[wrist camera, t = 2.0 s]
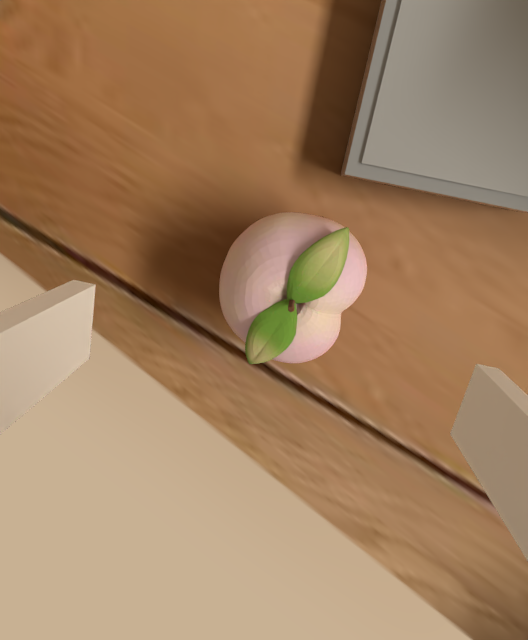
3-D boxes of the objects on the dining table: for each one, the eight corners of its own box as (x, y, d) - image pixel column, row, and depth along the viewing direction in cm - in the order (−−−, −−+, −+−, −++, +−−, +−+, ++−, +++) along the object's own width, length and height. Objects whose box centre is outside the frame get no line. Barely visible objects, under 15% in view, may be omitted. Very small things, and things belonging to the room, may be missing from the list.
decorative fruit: (263, 183, 30) (247, 183, 21) (371, 234, 31) (404, 256, 21) (212, 304, 33) (177, 352, 24) (312, 349, 34) (317, 414, 24)
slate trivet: (517, 211, 30) (542, 214, 27) (340, 175, 30) (345, 174, 27) (591, 4, 26) (630, -20, 23) (389, -36, 26) (401, -65, 23)
